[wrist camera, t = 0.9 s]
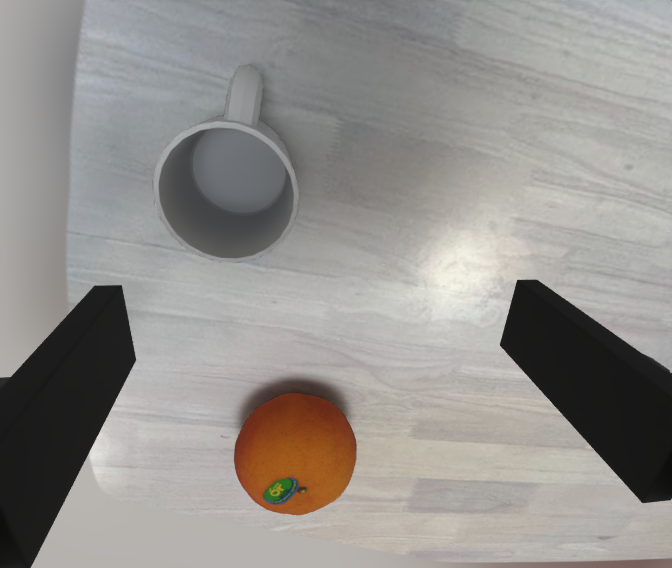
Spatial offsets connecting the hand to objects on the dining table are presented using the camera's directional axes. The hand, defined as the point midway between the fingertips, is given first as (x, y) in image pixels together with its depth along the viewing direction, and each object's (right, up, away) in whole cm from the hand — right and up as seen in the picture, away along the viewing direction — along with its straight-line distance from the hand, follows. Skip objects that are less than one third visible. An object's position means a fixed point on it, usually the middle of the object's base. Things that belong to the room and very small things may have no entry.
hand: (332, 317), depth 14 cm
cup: (-6, +11, +14) cm, 19 cm away
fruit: (-4, -12, +26) cm, 28 cm away
